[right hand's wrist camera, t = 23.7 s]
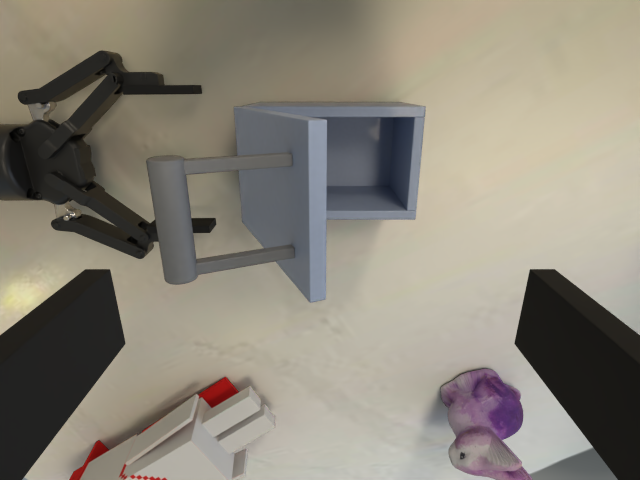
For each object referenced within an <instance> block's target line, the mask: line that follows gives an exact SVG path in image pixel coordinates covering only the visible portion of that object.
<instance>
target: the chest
mask: <svg viewBox="0 0 640 480" xmlns="http://www.w3.org/2000/svg"><path fill="white" fill-rule="evenodd" d="M242 107H251V108H258V109H264V110H270V111H276V112H282V113H288V114H294V115H301V116H307V117H313V118H319V119H325V120H327V196H326V219H415V218H416V206H417V195H418V184H419V173H420V162H421V151H422V140H423V129H424V117H425V108H426V107H425V106H420V105H414V104H409V103H403V102H258V103H254V104H249V105H245V106H242Z"/></svg>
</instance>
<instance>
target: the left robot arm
mask: <svg viewBox="0 0 640 480" xmlns="http://www.w3.org/2000/svg"><path fill="white" fill-rule="evenodd" d="M104 75H108V76H107V77H106V78H105V79H104V80H103V81H102V82H101V83H100V85H99V86H98V87H97V88H96V89H95V90H94V91H93V92H92V94H91V95H90V96H89V97H88V98H87V99H86V100H85V101H84V102H83V104H82V105H81V106H80V107H79V108H78V109H77V110H76V111H75V112H74V114H73V115H72V116H71V117H70V118H69V119H68V120H67V121H65V122H63V123H62V124H61V125H60V124H58V123H56V122H55V121H53V120H51V119H49V113H50V112H51V111H53V110H55V108H56V107H57V104H56V102H58V101H62V100H64V99H66V98H68V97H70V96H71V95H73V94H75V93H76V92H78V91H80V90H81V89H83V88H84V87H86V86H88V85H89V84H91V83H93V82H94V81H96V80H98V79H99V78H101V77H102V76H104ZM122 94H123V95H132V94H202V88H201V85H164V79H163V75H162V74H159V73H155V72H128V71H127V70H126V69H125V68H124V66H123V64H122V57H121V56H120V55H119V54H118V53H113V52H108V51H99V52H97V53H96V54H94V55H92V56H91V57H89V58H88V59H86V60H84V61H83V62H81V63H80V64H78V65H76V66H75V67H73V68H72V69H70V70H68V71H67V72H65V73H64V74H62V75H60V76H59V77H57V78H56V79H54V80H52V81H51V82H49V83H48V84H46V85H44V86H43V87H41V88H40V89H33V90H26V91H21V92H19V93H18V99H19V101H20V102H21V103H22V104H25V105H28V107H29V110H30V112H31V115H32V118H33V121H32V122H31V123H30V124H12V125H0V200H46V201H49V202H51V203H53V204H55V211H56V219H54V220H53V221H52V222H51V225H52V227H53V228H54V229H55V230H59V231H70V232H75V233H78V234H80V235H83V236H85V237H87V238H90V239H92V240H95V241H97V242H100V243H102V244H104V245H107V246H109V247H112V248H114V249H116V250H119V251H121V252H124V253H126V254H128V255H131V256H133V257H136V258H138V259H142V258H144V257H145V256H146V255H147V254H148V253H149V252H150V251H151V250H152V249H153V248H154V245H153V242H154V241H159V239H158V233H157V227H156V220H154V221H153V222H152V223H149V222H148V221H146V220H145V219H143V218H142V217H140V216H139V215H138V214H136V213H135V212H133V211H132V210H130V209H129V208H128V207H126V206H125V205H123V204H122V203H120V202H119V201H118V200H116V199H115V198H113V197H112V196H110V195H109V194H108V193H106V192H105V189H104V188H103V187H102V186H100V185H99V184H97V183H96V182H94V181H93V179H94V176H96V173H95V168H94V166H93V164H92V162H91V150H90V146H87V144H86V143H85V141H84V140H83V139H84V138H85V137H86V136H87V134H88V133H89V132H90V131H91V130H92V127H93V126H94V124H95V123H96V122H97V121H98V120H99V119H100V118H101V117H102V116H103V115H104V114H105V113H106V111H107V110H108V109H109V108H110V107H111V106H112V105H113V104H114V103H115V102H116V101H117V100H118V98H119V97H120V96H121V95H122ZM83 190H86V191H83ZM71 200H74V201H76V202H77V203H79V204H80V205H83V206H88V207H89V208H91V209H92V210H94V211H95V212H97V213H98V214H99V215H101V216H102V217H104V218H105V219H107V220H108V221H110V222H111V223H113V224H114V225H116V226H117V227H116V226H114V225H111V224H109V223H107V222H104V221H102V220H99V219H97V218H95V217H92V216H89V215H86V214H81V213H82V212H81V210H79V209H75V208H73V207H71V206H70V204H69V202H70V201H71ZM191 220H192V228H193V233H210V232H211V231H212V229H213V228H214V227H215V225H216V218H191ZM118 227H119V228H118Z"/></svg>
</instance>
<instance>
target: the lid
mask: <svg viewBox="0 0 640 480" xmlns="http://www.w3.org/2000/svg"><path fill="white" fill-rule="evenodd" d="M234 115H235V129H236V142H237V156H223V157H207V158H192V159H184V158H183V157H181V156H156V157H151V158H148V159H147V161H146V162H147V169H148V175H149V181H150V188H151V194H152V201H153V207H154V214H155V220H156V227H157V233H158V239H159V246H160V252H161V259H162V265H163V272H164V278H165V281H166V282H167V283H169V284H176V285H177V284H185V283H189V282H191V281H193V280H195V279H196V278H197V276H198V275H199V274H205V273H211V272H217V271H222V270H228V269H234V268H240V267H245V266H251V265H257V264H263V263H268V262H274V261H275V262H276V263H277V264H278V265H279V266H280V267H281V269H282V270H283V271H284V272H285V273H286V275H287V276H288V277H289V278H290V279H291V281H292V282H293V283H294V284H295V285H296V287H297V288H298V289H299V290H300V291H301V292H302V294H303V295H304V296H305V297H306V298H307V300H308V301H309V302H310V303H311V302H316V301H320V300H324V299H326V196H327V120H325V119H319V118H313V117H307V116H301V115H294V114H288V113H282V112H276V111H270V110H264V109H258V108H251V107H234ZM226 171H239V183H240V197H241V211H242V222H243V223H244V225H245V226H246V227H247V228H248V229H249V231H250V232H251V233H252V234H253V235H254V237H255V238H256V239H257V240H258V241H259V242H260V244H261V245H262V246H263V247H264V249H257V250H251V251H245V252H239V253H232V254H226V255H220V256H213V257H207V258H201V259H196V253H195V245H194V237H193V228H192V220H191V212H190V204H189V195H188V187H187V179H186V175H189V174H201V173H214V172H226Z"/></svg>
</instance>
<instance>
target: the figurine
mask: <svg viewBox="0 0 640 480" xmlns="http://www.w3.org/2000/svg"><path fill="white" fill-rule="evenodd" d="M440 390H441V397H442V401H443V403H444V404H445V406H447V407H448V408H449V410H448V420H449V424H450V426H451V428H452V430H453V432H454V434H455V435H456V439H455V441H454V442H453V443H452V445H451V446H450V448H449V458H450V460H451V463H452V465H453V466H454V467H455V468H457V469H459V470H461V471H463V472H465V473H468V474H471V475H475V476H484V477H490V478H493V479H496V480H532V478H531V476H530V475H529V474H528V473H527V472H526V470H525V469H524V468H523V467H522V462H521V461H520V460H519V459H518V457H517V456H516V455H515V454H514V453H513V452H512V451H511V450H510V449H509V448H508V446H507V445H506V444H505V443H504V442H503V441H502V440H503V439H506V438H508V437H510V436H512V435H513V434H515V433H516V432H517V431H518V430H519V429H520V427H521V425H522V422H523V409H522V405H521V403H520V401H519V400H520V398H521V393H520V391H519V390H518V389H517V388H514V387H512V386H509V385H506V384H504V383H503V382H502V380H501V379H500V377H499V375H498V374H497V373H496V372H495V371H493V370H490V369H480V370H475V371H470V372H467V373H464V374H460V375H459V376H458V377H457V378H455V379H454V380H453V381H451V382H448V383H446V384H445V385H443V386H442V387H441V389H440Z"/></svg>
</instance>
